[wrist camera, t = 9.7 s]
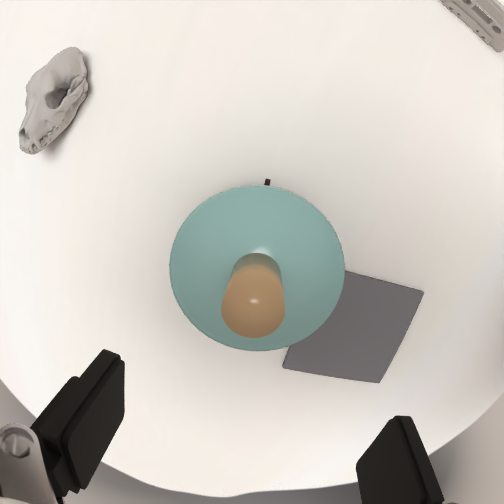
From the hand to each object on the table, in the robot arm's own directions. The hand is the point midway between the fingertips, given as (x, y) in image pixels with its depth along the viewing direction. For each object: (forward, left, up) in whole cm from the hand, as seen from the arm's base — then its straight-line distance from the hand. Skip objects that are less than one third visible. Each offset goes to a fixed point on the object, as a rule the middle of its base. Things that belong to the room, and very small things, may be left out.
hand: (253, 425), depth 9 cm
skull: (+27, -11, -25) cm, 39 cm away
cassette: (-18, -36, -25) cm, 48 cm away
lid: (0, 0, -15) cm, 15 cm away
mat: (-13, +8, -25) cm, 30 cm away
